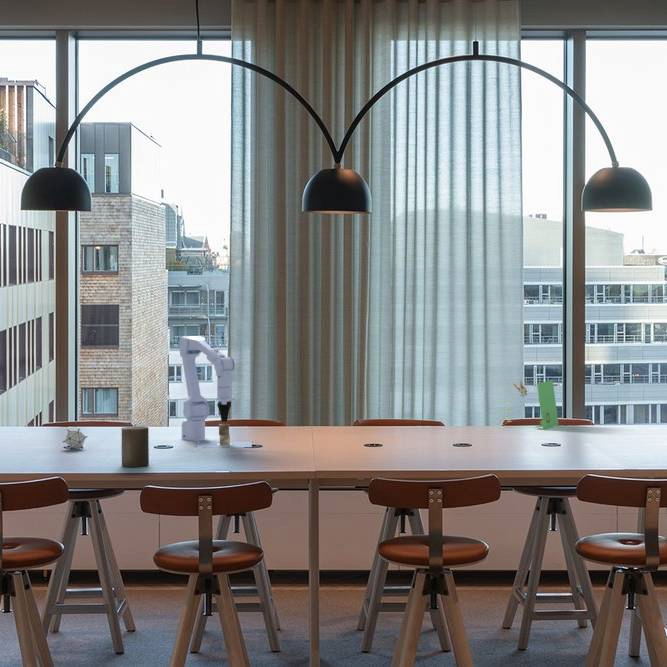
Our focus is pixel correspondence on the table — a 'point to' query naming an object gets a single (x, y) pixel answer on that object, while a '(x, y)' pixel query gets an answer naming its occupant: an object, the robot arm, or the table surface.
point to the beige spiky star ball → (75, 439)
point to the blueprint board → (217, 444)
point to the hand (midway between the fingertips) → (224, 420)
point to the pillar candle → (135, 446)
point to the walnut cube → (223, 429)
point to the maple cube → (225, 439)
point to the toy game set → (543, 403)
